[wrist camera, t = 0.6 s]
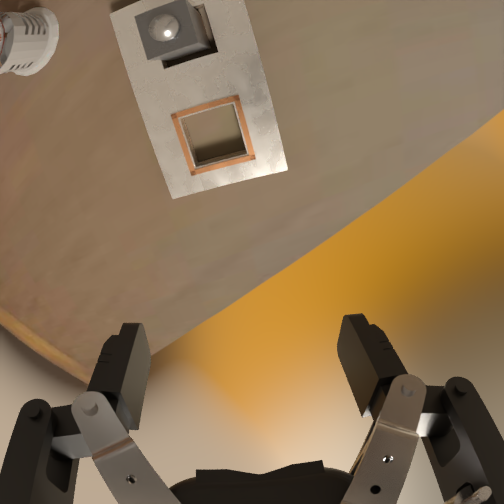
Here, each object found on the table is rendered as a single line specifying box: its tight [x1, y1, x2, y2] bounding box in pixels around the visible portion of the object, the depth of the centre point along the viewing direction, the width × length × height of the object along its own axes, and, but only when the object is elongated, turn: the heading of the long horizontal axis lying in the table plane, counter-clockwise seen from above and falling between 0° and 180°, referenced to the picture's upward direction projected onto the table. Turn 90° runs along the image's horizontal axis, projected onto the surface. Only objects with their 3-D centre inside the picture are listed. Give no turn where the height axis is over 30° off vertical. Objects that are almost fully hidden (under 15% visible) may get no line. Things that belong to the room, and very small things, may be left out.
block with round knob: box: [134, 0, 211, 60], centre depth 24 cm, size 4×4×11 cm
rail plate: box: [110, 0, 288, 199], centre depth 31 cm, size 24×14×2 cm, turn 14°
